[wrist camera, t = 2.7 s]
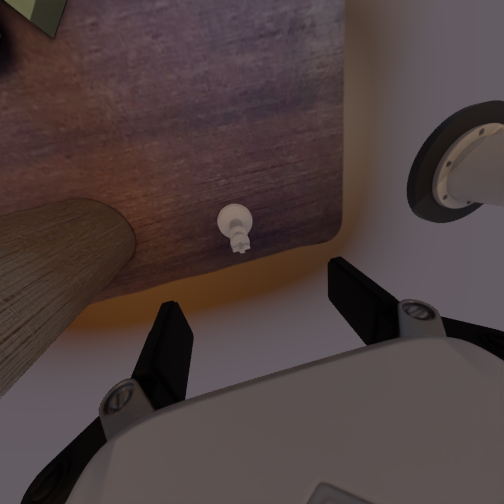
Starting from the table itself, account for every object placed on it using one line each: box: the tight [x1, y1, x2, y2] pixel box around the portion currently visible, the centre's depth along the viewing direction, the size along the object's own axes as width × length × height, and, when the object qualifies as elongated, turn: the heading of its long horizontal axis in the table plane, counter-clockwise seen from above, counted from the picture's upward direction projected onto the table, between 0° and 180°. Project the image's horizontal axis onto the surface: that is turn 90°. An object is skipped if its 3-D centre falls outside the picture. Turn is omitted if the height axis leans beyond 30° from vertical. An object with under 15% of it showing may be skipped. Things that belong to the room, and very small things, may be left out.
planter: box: [0, 199, 135, 399], centre depth 14 cm, size 10×10×23 cm
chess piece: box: [217, 204, 252, 254], centre depth 22 cm, size 5×5×10 cm
